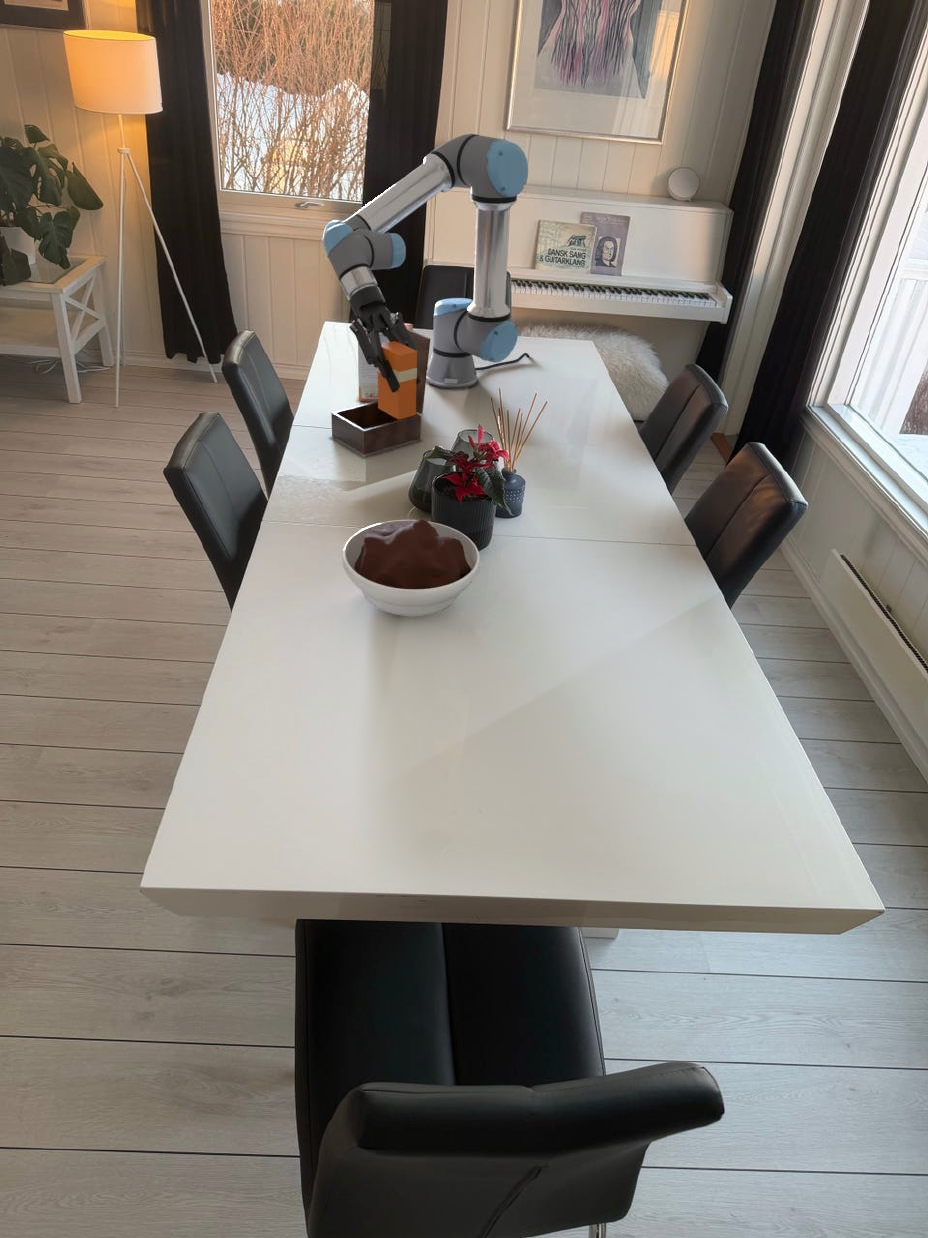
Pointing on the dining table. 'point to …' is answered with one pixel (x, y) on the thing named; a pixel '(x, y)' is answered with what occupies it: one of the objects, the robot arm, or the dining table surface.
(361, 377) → the cracker box
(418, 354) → the lid
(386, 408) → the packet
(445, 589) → the bowl of chocolate pudding
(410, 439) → the storage box
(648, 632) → the dining table surface
